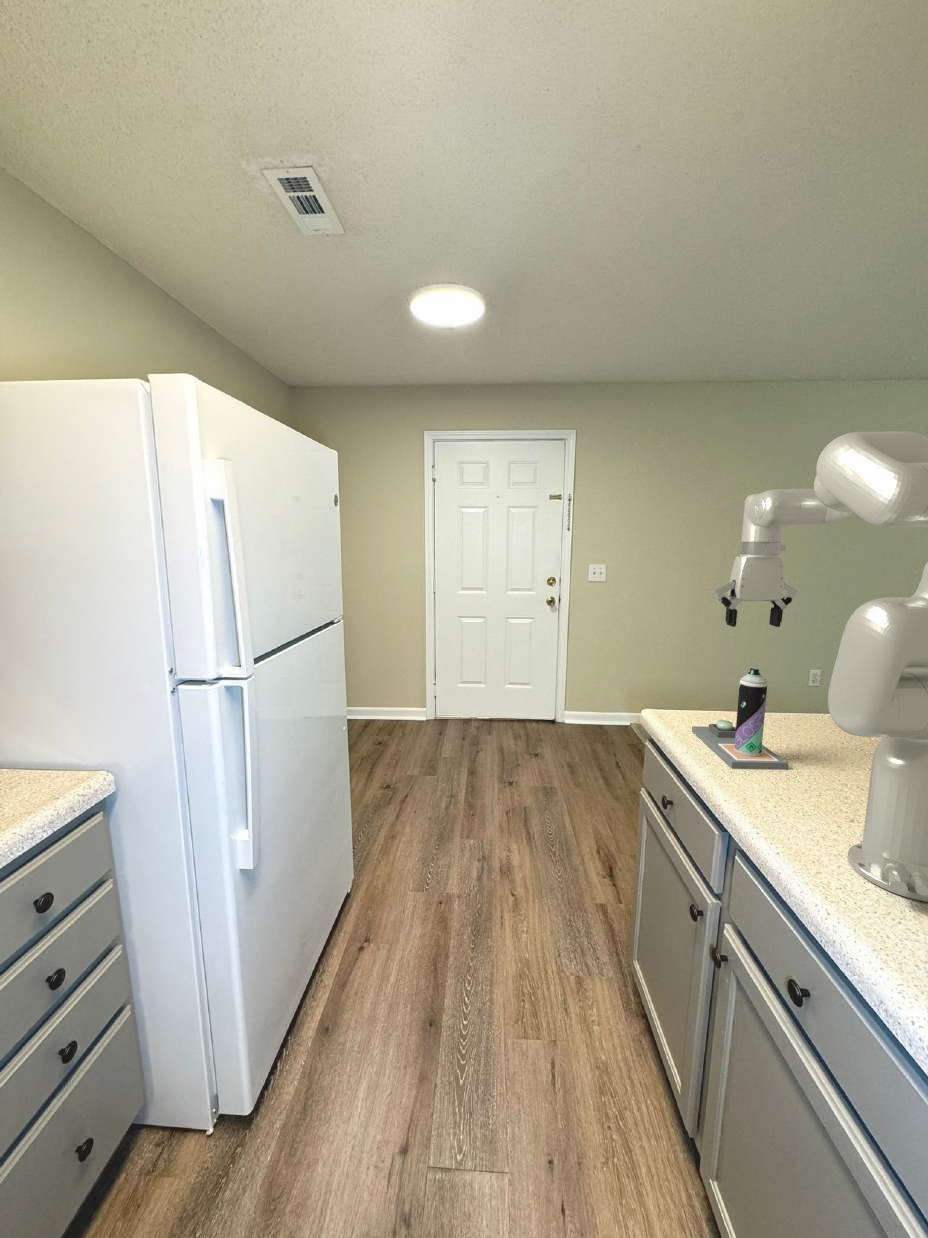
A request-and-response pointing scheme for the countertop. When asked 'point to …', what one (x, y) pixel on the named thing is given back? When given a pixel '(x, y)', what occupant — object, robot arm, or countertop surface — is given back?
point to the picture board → (725, 750)
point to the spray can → (750, 714)
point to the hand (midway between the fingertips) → (752, 625)
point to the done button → (724, 725)
